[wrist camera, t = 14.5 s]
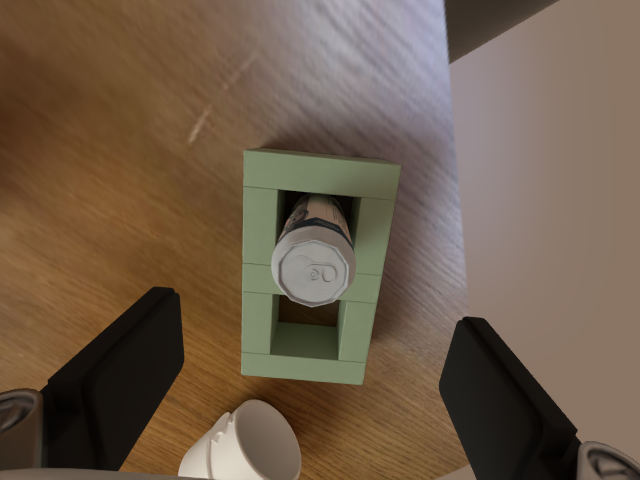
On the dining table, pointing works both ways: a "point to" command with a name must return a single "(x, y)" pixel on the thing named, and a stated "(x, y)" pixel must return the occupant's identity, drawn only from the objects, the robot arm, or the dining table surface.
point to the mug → (246, 447)
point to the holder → (261, 239)
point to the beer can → (314, 252)
